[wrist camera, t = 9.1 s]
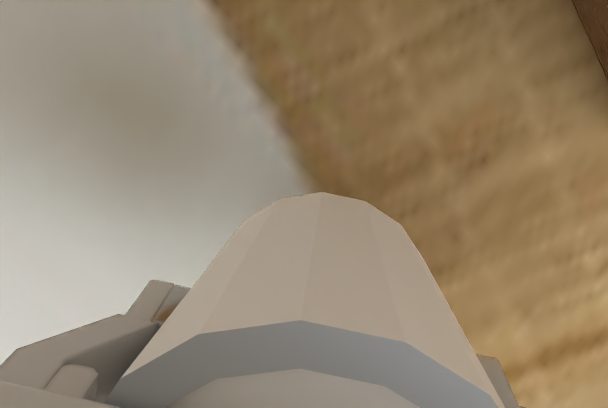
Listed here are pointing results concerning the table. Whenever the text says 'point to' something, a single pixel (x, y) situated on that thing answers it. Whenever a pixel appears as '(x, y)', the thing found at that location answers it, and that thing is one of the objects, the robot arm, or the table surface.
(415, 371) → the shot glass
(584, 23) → the crate
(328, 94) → the table surface
